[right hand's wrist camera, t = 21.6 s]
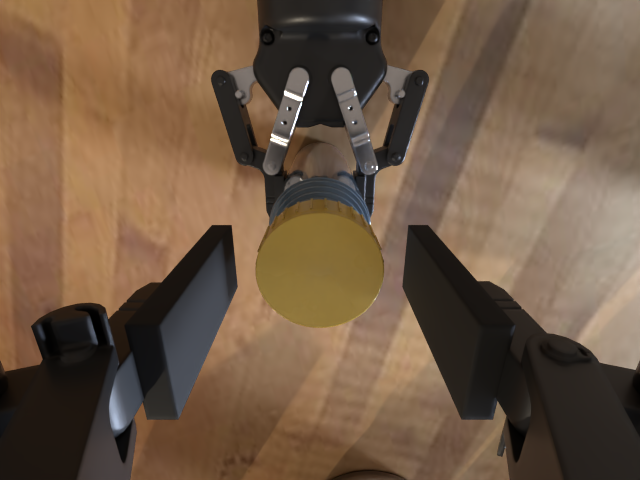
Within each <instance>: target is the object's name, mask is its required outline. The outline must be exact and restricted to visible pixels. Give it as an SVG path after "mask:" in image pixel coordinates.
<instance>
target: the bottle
mask: <svg viewBox="0 0 640 480" xmlns="http://www.w3.org/2000/svg"><path fill="white" fill-rule="evenodd" d="M312 198H313V200H316V199H323V200H324V198H327V200H331V201H336V202H338V201H340V203H342V204H344V205H347V206H349V207H353V210H355V211H356V212H358V213H359V214H360V215H361V214H362V215H363V217H364V219H365V220H366V222H367V223H368V225H369V224H370V225H371V222H370V215H369V211H368V208H367V206H366V204H365V202H364V199H363V197H362V195H361V193H360V190H359V188H358V186H357V184H356V181H355V179H354V177H353V175H352V172H351V170H350V168H349V166H348V164H347V161H346V159H345V157H344V155H343V154H342V153H341V151H340V150H339V149H337V148H336V147H334V146H333V145H331V144H328V143H323V142H318V143H312V144H309V145H307V146H305V147H304V148H303V149H301V150H300V151H299V153H298V154H297V155H296V157H295V159H294V161H293V163H292V166H291V168H290V170H289V172H288V175H287V177H286V179H285V181H284V183H283V186H282V188H281V190H280V192H279V195H278V197H277V199H276V201H275V203H274V206H273V208H272V211H271V214H270V220H269V226H271V224H272V222H273V221H274V219H275V217H276V216H277V217H278V216H279V215H280V214H281V213H282V212H283V211H285V208H289V207H291V206H293V205H295V204H297V202H300V203H301V202H304V201H308V200H311V199H312Z"/></svg>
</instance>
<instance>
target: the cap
mask: <svg viewBox="0 0 640 480" xmlns="http://www.w3.org/2000/svg"><path fill="white" fill-rule="evenodd" d="M380 250H381V247H380V244H379V242H378V240H377V237H376V235H375V234H374V232H373V229H372V227H371V225H370V224H369V225H368V223H367V222H366V220H365V219H364V217H363V215H362V214H361V215H360V214H359V213H358V212H356V211H355V210H353V207H349V206H347V205H344V204H342V203H340V201H338V202H336V201H331V200H327V198H324V200H323V199H316V200H313V198H312V199H311V200H308V201H304V202H301V203H300V202H297V204H295V205H293V206H291V207H289V208H285V211H283V212H282V213H281V214H280V215H279V216H278V217H277V216H276V217H275V219H274V221H273V222H272V224H271V226H268V228H267V230H266V232H265V235H264V237H263V239H262V242H261V244H260V246H259V249H258V252H259V253H258V256H257V260H256V279H257V284H258V287H259V290H260V292H261V294H262V296H263V298H264V299H265V301H266V302H267V303H268V305H269V306H270V307H271V308H272V309H273V310H274V311H275V312H276V313H277V314H279V315H280V316H282V317H283V318H285V319H287V320H289V321H291V322H293V323H296V324H298V325H302V326H306V327H313V328H326V327H333V326H338V325H341V324H344V323H347V322H349V321H351V320H353V319H355V318H356V317H358V316H359V315H361V314H362V313H363V312H365V311H366V310H367V309H368V308H369V307H370V305H371V304H372V303H373V302H374V300H375V299H376V297H377V295H378V293H379V291H380V289H381V286H382V282H383V277H384V260H383V257H382V254H381V251H380Z"/></svg>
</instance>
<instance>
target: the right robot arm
mask: <svg viewBox="0 0 640 480" xmlns="http://www.w3.org/2000/svg"><path fill="white" fill-rule="evenodd" d="M237 287H238V286H237V276H236V266H235V256H234V245H233V235H232V225H212V226H211V227H210V228H209V229H208V230H207V232H206V233H205V234H204V235H203V236H202V237H201V238H200V239H199V241H198V242H197V243H196V244H195V245H194V246H193V247H192V249H191V250H190V251H189V252H188V253H187V254H186V255H185V257H184V258H183V259H182V260H181V261H180V262H179V263H178V264H177V266H176V267H175V268H174V269H173V270H172V271H171V272H170V274H169V275H168V276H167V277H166V278H165V279H164V280H163V282H162V283H149V284H147V285H146V286H144V287H142V288H140V289H139V290H137V291H136V292H135V293H134V294H133V295H132V296H131V297H130V298H129V299H128V300H127V302H125V303H124V304H123V305H122V306H121V307H120V308H119V311H116V312H115V313H114V314H113V315H112V316H111V317H110V318H109V319H108V317H107V313H106V309H105V307H103V306H102V305H100V304H95V303H80V304H74V305H70V306H66V307H62V308H60V309H57V310H55V311H52V312H50V313H48V314H46V315H45V316H43V317H41V318H39V319H38V320H37V321H36V322H35V323H34V324H33V325H32V326H31V327H32V330H33V333H34V336H35V339H36V341H37V344H38V347H39V350H40V352H41V355H42V358H43V360H42V362H41V364H40V365H36V366H31V367H26V368H21V369H16V370H11V371H6V372H5V371H4V369H3V366H2V364H1V361H0V480H130V478H131V471H132V463H133V456H134V449H135V442H136V434H137V430H136V424H135V420H134V416H135V414H136V412H137V411H138V409H139V407H140V406H141V404H142V402H143V405H144V409H145V413H146V417H147V420H178V419H179V417H180V415H181V412H182V410H183V408H184V406H185V403H186V401H187V399H188V397H189V395H190V392H191V390H192V388H193V386H194V383H195V381H196V379H197V377H198V374H199V372H200V370H201V368H202V365H203V363H204V361H205V359H206V356H207V354H208V352H209V350H210V348H211V345H212V343H213V341H214V339H215V336H216V334H217V332H218V330H219V327H220V325H221V323H222V321H223V318H224V316H225V314H226V312H227V309H228V307H229V305H230V303H231V301H232V298H233V296H234V294H235V292H236V289H237ZM402 287H403V289H404V292H405V294H406V296H407V298H408V301H409V303H410V305H411V307H412V310H413V312H414V314H415V316H416V318H417V321H418V323H419V325H420V327H421V330H422V332H423V334H424V336H425V339H426V341H427V343H428V345H429V348H430V350H431V352H432V354H433V356H434V359H435V361H436V363H437V365H438V368H439V370H440V372H441V374H442V377H443V379H444V381H445V383H446V386H447V388H448V390H449V392H450V395H451V397H452V399H453V401H454V403H455V406H456V408H457V410H458V412H459V415H460V417H461V419H462V420H493V417H494V413H495V409H496V405H497V400H498V402H499V404H500V405H501V407H502V409H503V411H504V412H505V414H506V420H505V424H504V428H503V431H502V435H501V439H500V443H499V447H498V453H497V455H498V456H501V457H502V456H503V453H504V449H505V448H506V455H507V462H508V470H509V477H510V480H640V361H639V364H638V366H637V369H636V370H633V369H628V368H622V367H617V366H612V365H607V364H602V363H599V361H598V359H597V358H596V357H595V356H594V355H593V353H592V352H591V351H590V350H588V349H587V348H585V347H584V346H583V345H581V344H580V343H577V342H575V341H573V340H571V339H569V338H566V337H563V336H559V335H555V334H548V333H546V332H545V331H544V330H543V329H542V328H541V327H540V326H539V325H538V324H537V323H536V322H535V321H534V320H533V319H532V318H531V317H530V315H529V314H528V313H527V312H526V311H525V310H524V309H521V306H520V305H519V304H518V303H517V302H516V301H514V299H513V298H512V297H511V296H510V295H509V294H508V293H507V292H506V291H505V290H504V289H502V288H500V287H498V286H497V285H495V284H493V283H491V282H490V281H477V280H476V279H475V278H474V277H473V276H472V275H471V274H470V272H469V271H468V270H467V269H466V268H465V267H464V266H463V264H462V263H461V262H460V261H459V260H458V259H457V258H456V257H455V255H454V254H453V253H452V252H451V251H450V250H449V249H448V247H447V246H446V245H445V244H444V243H443V242H442V241H441V239H440V238H439V237H438V236H437V235H436V234H435V233H434V232H433V230H432V229H431V228H430V227H429V226H428V225H408V235H407V245H406V256H405V266H404V276H403V286H402ZM333 480H405V479H403V478H401V477H399V476H396V475H393V474H390V473H385V472H379V471H359V472H353V473H349V474H345V475H342V476H339V477H337V478H335V479H333Z"/></svg>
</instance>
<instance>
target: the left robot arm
mask: <svg viewBox="0 0 640 480" xmlns="http://www.w3.org/2000/svg"><path fill="white" fill-rule="evenodd" d="M382 1H383V0H257V4H258V21H259V48H258V52H257V55H256V57H255V59H254V62H253V66H249V67H245V68H242V69H238V70H234V71H230V72H226V71H223V70H217V71H215V72H214V73H213V74H212V77H211V82H212V85H213V88H214V92H215V95H216V98H217V101H218V104H219V107H220V110H221V113H222V117H223V120H224V123H225V126H226V129H227V132H228V135H229V139H230V142H231V145H232V148H233V151H234V154H235V157H236V160H237V162H238V163H239V164H241V165H244V166H246V165H248V166H251V167H254V168H257V169H259V170H260V171H261V172H262V173H263V175H264V178H265V192H266V209H267V213H268V215H269V217H270V214H271V211H272V208H273V206H274V203H275V201H276V199H277V197H278V195H279V192H280V190H281V188H282V186H283V183H284V181H285V179H286V177H287V170H286V171H284V167H283V164H284V161H285V158H286V155H287V152H288V149H289V146H290V143H291V140H292V137H293V135H294V132H295V129H296V126H297V127H311V126H315V125H318V124H322V125H326V126H329V127H345V130H346V133H347V136H348V139H349V141H350V144H351V147H352V150H353V153H354V156H355V159H356V171H353V177H354V179H355V181H356V184H357V186H358V188H359V190H360V193H361V195H362V197H363V199H364V202H365V204H366V206H367V208H368V211H369V215H370V217H371V215H372V213H373V209H374V191H375V177H376V174H377V173H378V172H379V171H380V170H381V169H383V168H386V167H389V166H391V165H393V166H397V165H400V164H401V163H402V162H403V161H404V159H405V156H406V153H407V149H408V146H409V143H410V140H411V137H412V133H413V130H414V127H415V124H416V121H417V118H418V114H419V111H420V108H421V105H422V102H423V98H424V95H425V92H426V89H427V86H428V82H429V77H428V74H427V73H426V72H425V71H423V70H417V71H408V70H404V69H400V68H396V67H393V66H389V65H387V61H386V58H385V56H384V54H383V51H382V48H381V20H382ZM257 82H258V83H259V84H260V86H261V87H262V88H263V90H264V91H265V93H266V94H267V95H268V97H269V98H270V100H271V101H272V102H273V104H274V105H275V106H276V108H277V109H278V114H277V118H276V121H275V124H274V127H273V131H272V134H271V139H270V143H269V146H268V149H267V150H265V149H263V148H260V147H258V145H257V142H256V138H255V135H254V131H253V128H252V125H251V121H250V118H249V114H248V111H247V108H246V104H248V103H250V102H251V100H252V97H253V95H252V88H253V86H254V84H255V83H257ZM382 82H384V83H385V84H386V85H387V87H388V99H389V101H390V102H391V103H393V104H395V105H394V108H393V112H392V115H391V119H390V122H389V126H388V129H387V133H386V136H385V140H384V143H383V147H380V148H377V149H374V150H373V147H372V144H371V141H370V136H369V132H368V129H367V126H366V123H365V119H364V116H363V113H362V109H363V108H364V107H365V105H366V104H367V102H368V101H369V100H370V98H371V97H372V96H373V94H374V93H375V91H376V90H377V89H378V87H379V86H380V84H381V83H382Z"/></svg>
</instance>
